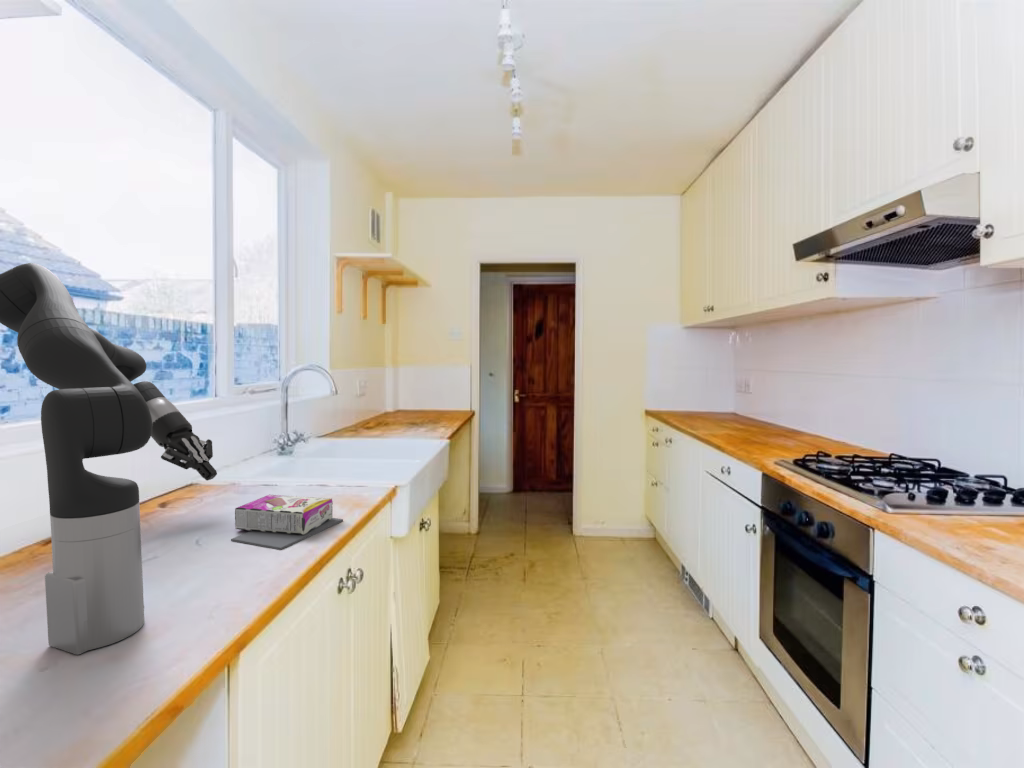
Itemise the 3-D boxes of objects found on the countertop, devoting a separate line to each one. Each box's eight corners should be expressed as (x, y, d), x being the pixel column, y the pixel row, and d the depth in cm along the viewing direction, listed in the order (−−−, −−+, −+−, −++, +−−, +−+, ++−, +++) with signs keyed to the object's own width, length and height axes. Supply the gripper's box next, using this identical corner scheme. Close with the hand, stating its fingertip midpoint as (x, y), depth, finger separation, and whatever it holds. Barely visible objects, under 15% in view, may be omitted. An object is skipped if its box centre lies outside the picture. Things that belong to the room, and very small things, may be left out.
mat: (280, 549, 98) (280, 547, 98) (231, 540, 102) (230, 538, 102) (343, 520, 114) (343, 519, 114) (297, 514, 119) (297, 512, 119)
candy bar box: (268, 492, 118) (333, 497, 114) (269, 514, 118) (333, 519, 115) (233, 506, 107) (303, 512, 103) (233, 530, 107) (304, 536, 104)
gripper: (178, 428, 123) (224, 481, 121) (127, 437, 110) (178, 496, 108) (196, 407, 122) (243, 460, 120) (147, 414, 109) (199, 473, 107)
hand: (212, 477), depth 114 cm, fingers closed
